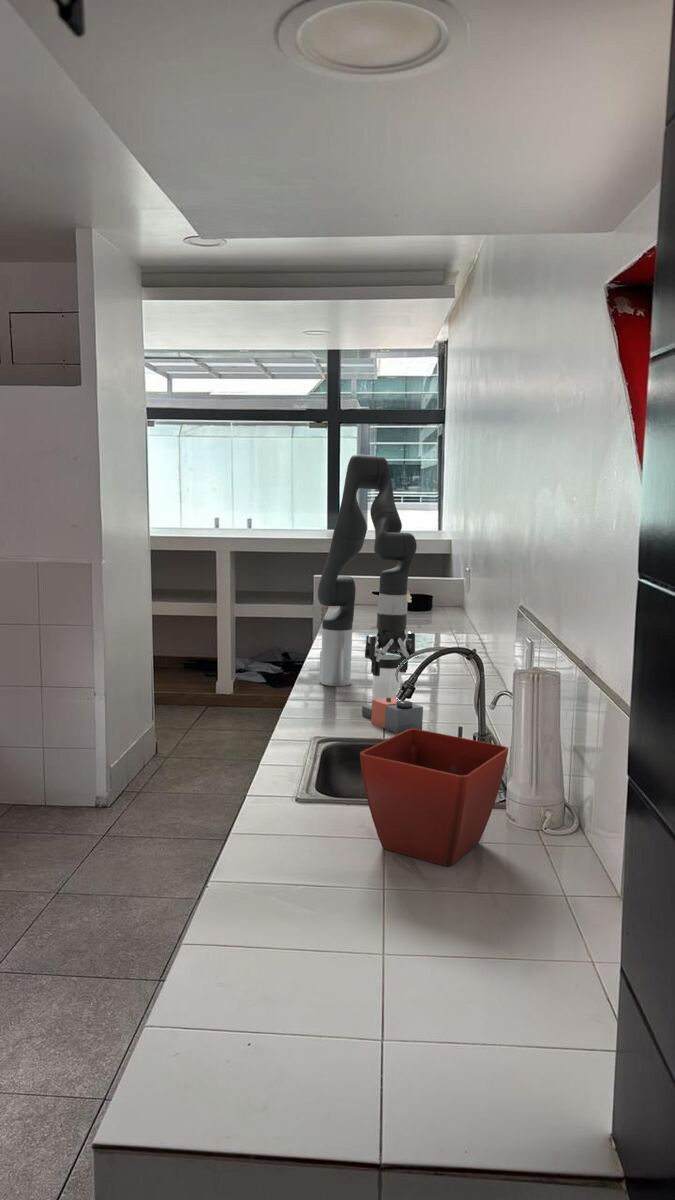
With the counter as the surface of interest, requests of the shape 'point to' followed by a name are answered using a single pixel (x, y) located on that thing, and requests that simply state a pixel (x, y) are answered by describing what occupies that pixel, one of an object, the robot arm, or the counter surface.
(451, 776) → the plant pot
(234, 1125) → the counter surface
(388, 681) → the jar
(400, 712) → the coupler
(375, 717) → the notched red block
